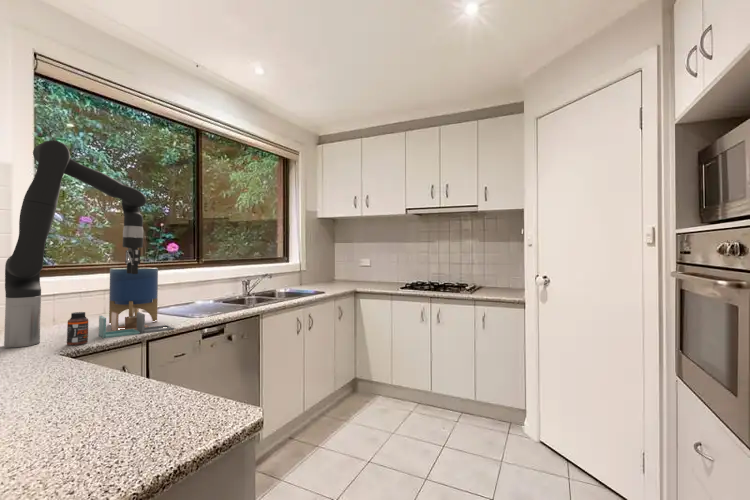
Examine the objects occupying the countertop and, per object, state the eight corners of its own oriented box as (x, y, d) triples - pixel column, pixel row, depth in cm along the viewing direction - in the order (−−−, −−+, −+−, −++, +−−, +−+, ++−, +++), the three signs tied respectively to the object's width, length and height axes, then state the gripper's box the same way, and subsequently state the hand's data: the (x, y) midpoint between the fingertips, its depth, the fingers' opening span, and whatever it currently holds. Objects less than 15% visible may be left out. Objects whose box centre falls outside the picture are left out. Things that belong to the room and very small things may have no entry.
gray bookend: (142, 334, 149) (142, 314, 150) (136, 331, 156) (136, 312, 156) (174, 330, 158) (174, 311, 158) (167, 327, 164) (167, 309, 165)
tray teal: (103, 339, 140) (103, 318, 140) (98, 335, 146) (99, 315, 147) (139, 334, 149) (139, 314, 149) (133, 331, 155) (134, 312, 155)
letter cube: (127, 330, 156) (127, 317, 156) (124, 328, 160) (124, 316, 160) (141, 328, 160) (141, 316, 160) (138, 326, 163) (138, 315, 163)
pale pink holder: (115, 333, 152) (116, 313, 152) (111, 330, 158) (111, 311, 158) (148, 329, 160) (149, 310, 161) (143, 326, 167) (143, 308, 167)
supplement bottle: (78, 345, 130) (79, 313, 130) (62, 345, 130) (62, 313, 130) (92, 342, 136) (92, 311, 136) (76, 342, 136) (77, 311, 136)
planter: (104, 328, 162) (105, 269, 162) (113, 321, 179) (114, 268, 180) (154, 325, 170) (155, 268, 171) (159, 319, 187) (159, 267, 188)
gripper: (119, 237, 163) (118, 273, 163) (127, 235, 153) (125, 274, 153) (138, 237, 168) (137, 273, 168) (147, 236, 159) (146, 274, 158)
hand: (132, 273), depth 160 cm, fingers open, 8 cm apart
